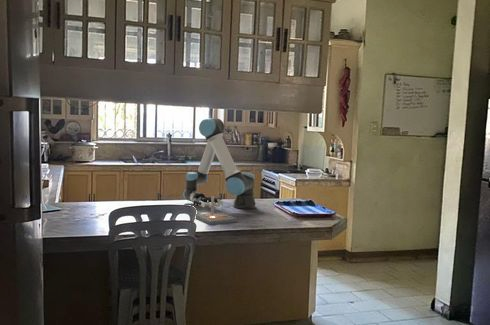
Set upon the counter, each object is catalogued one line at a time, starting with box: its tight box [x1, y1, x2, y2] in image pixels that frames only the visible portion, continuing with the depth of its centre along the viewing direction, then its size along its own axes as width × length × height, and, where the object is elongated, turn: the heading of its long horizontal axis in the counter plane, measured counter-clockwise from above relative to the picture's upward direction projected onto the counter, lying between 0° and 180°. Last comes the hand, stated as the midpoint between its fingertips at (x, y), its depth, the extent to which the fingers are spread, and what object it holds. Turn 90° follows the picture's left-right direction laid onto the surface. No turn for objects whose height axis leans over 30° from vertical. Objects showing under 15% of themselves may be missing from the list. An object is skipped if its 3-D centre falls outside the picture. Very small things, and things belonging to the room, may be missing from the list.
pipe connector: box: [205, 196, 221, 213], centre depth 288 cm, size 10×10×10 cm
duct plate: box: [195, 212, 238, 226], centre depth 269 cm, size 18×18×2 cm
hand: (213, 204), depth 286 cm, fingers open, 13 cm apart
